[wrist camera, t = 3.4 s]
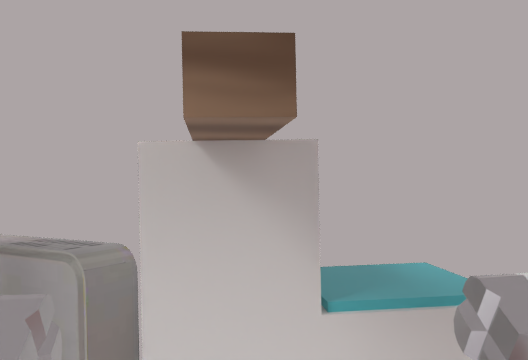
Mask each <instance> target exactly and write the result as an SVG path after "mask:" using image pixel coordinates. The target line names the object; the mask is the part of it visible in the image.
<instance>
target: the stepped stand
mask: <svg viewBox="0 0 528 360" xmlns="http://www.w3.org/2000/svg"><path fill="white" fill-rule="evenodd" d="M138 173H139V174H138V176H139V219H140V221H139V222H140V267H141V268H140V269H141V312H142V313H141V315H142V359H143V360H472V359H471V358H469V357H468V356H466V355H465V354H464V353H463V352H462V350H461V348H460V346H459V344H458V342H457V339H456V336H455V333H454V316H455V312H456V309H457V307H458V306H459V305H460V304H461V303H462V302H463V301H465V300H466V299H467V298H466V297H465V295H464V293H463V291H462V290H463V287H464V284H465V281H466V280H467V278H465V277H462V276H460V275H457V274H454V273H452V272H449V271H446V270H444V269H441V268H439V267H436V266H433V265H431V264H428V263H406V264H380V265H357V266H334V267H320V221H319V178H318V177H319V174H318V139H299V140H213V141H138Z"/></svg>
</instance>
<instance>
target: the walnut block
mask: <svg viewBox="0 0 528 360" xmlns="http://www.w3.org/2000/svg"><path fill="white" fill-rule="evenodd" d="M295 56H296V55H295V33H264V32H262V33H259V32H184V31H182V67H183V113H184V120H185V122H186V125H187V127H188V130H189V132H190V134H191V137H192V139H193V141H213V140H266V139H267V138H268V137H269V136H271V135H272V134H274V133H275V132H276V131H278V130H279V129H281V128H282V127H283V126H285V125H286V124H288V123H289V122H290V121H292V120H293V119H294V118H296V117H297V104H296V57H295Z"/></svg>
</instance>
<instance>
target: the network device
mask: <svg viewBox="0 0 528 360" xmlns="http://www.w3.org/2000/svg"><path fill="white" fill-rule="evenodd" d="M32 294H48V295H50V296H52V299H53V302H54V306H55V309H56V310H55V313H54V315H53V318H52V321H53V322H54V323H55V324H57V325H58V326H59V327H60V331H61V335H62V357H61V360H139V327H138V281H137V266H136V262H135V259H134V257H133V255H132V253H131V252H130V250H129V249H128V248H127V247H126V246H124V245H122V244H117V243H104V242H92V241H78V240H66V239H53V238H40V237H28V236H15V235H2V234H0V295H32Z"/></svg>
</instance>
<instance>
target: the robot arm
mask: <svg viewBox="0 0 528 360" xmlns="http://www.w3.org/2000/svg"><path fill="white" fill-rule="evenodd" d="M462 291H463V293H464V295H465V297H466V298H467V299H466V300H465V301H463V302H462V303H461V304H460V305H459V306H458V307H457V309H456V312H455V316H454V333H455V336H456V339H457V342H458V344H459V346H460V348H461V350H462V352H463V353H464V354H465V355H466V356H468V357H469V358H471V359H472V360H528V273H518V274H502V275H484V276H470V277H469V278H468V279H467V280H466V281H465V284H464V287H463V290H462ZM55 310H56V309H55V306H54V302H53V299H52V296H50V295H48V294H32V295H0V360H61V357H62V335H61V331H60V327H59V326H58V325H57V324H55V323H54V322H53V321H52V318H53V315H54V313H55Z"/></svg>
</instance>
